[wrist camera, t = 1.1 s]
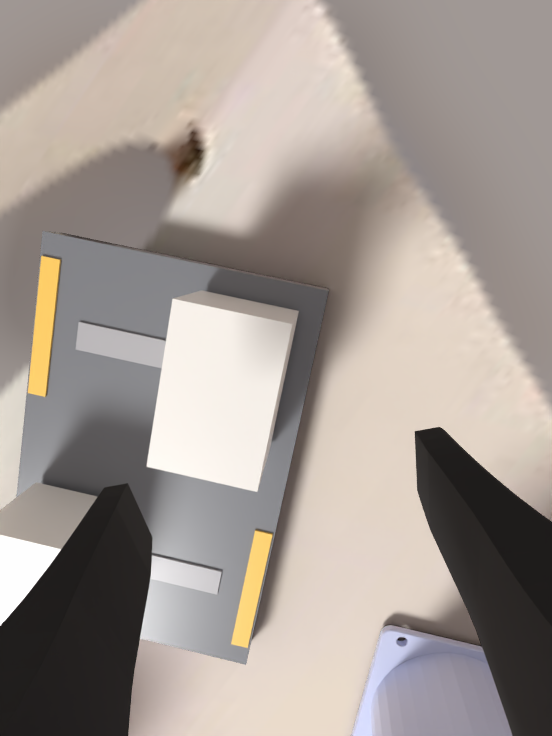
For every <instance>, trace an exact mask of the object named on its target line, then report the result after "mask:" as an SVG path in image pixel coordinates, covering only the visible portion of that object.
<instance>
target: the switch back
mask: <svg viewBox="0 0 552 736" xmlns="http://www.w3.org/2000/svg"><path fill="white" fill-rule="evenodd" d="M96 498H97V496H93V495H89V494H84V493H80V492H76V491H72V490H67V489H63V488H59V487H54V486H50V485H46V484H41V483H37V482H36V483H35V484H33V485H32V486H31V487H29V488H28V489H27V490H26V491H24V492H23V493H22V494H20V495H19V496H18V497H17V498H15V499H14V500H13V501H11V502H10V503H9V504H8V505H6V506H5V507H4V508H2V509H1V510H0V625H1V624H2V623H3V622H4V621H5V620H6V619H7V617H8V616H9V615H10V614H11V613H12V612H13V611H14V609H15V608H16V607H17V606H18V605H19V604H20V602H21V601H22V600H23V599H24V598H25V596H26V595H27V594H28V593H29V591H30V590H31V589H32V587H33V586H34V585H35V584H36V582H37V581H38V580H39V578H40V577H41V576H42V575H43V573H44V572H45V571H46V569H47V568H48V567H49V566H50V564H51V563H52V561H53V560H54V559H55V557H56V556H57V555H58V553H59V552H60V550H61V549H62V548H63V546H64V545H65V543H66V542H67V541H68V539H69V538H70V536H71V535H72V533H73V532H74V531H75V529H76V528H77V526H78V525H79V523H80V522H81V520H82V519H83V517H84V516H85V514H86V513H87V511H88V510H89V509H90V507H91V506H92V504H93V503H94V501H95V500H96Z"/></svg>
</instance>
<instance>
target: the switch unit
mask: <svg viewBox="0 0 552 736" xmlns="http://www.w3.org/2000/svg"><path fill="white" fill-rule="evenodd" d="M198 291H207V292H212V293H216V294H221V295H226V296H231V297H235V298H240V299H245V300H250V301H254V302H259V303H264V304H268V305H273V306H278V307H283V308H287V309H292V310H297V311H299V313H298V318H297V322H296V327H295V332H294V337H293V341H292V346H291V351H290V356H289V360H288V365H287V370H286V375H285V379H284V384H283V389H282V394H281V398H280V403H279V408H278V413H277V417H276V422H275V427H274V432H273V436H272V441H271V446H270V450H269V454H268V457H267V460H266V464H265V467H264V471H263V474H262V478H261V481H260V484H259V488H258V491H257V492H255V491H250V490H246V489H242V488H237V487H233V486H229V485H224V484H220V483H216V482H211V481H207V480H202V479H198V478H194V477H189V476H185V475H181V474H176V473H172V472H168V471H163V470H159V469H154V468H150V467H146V466H147V459H148V453H149V446H150V440H151V434H152V427H153V421H154V414H155V408H156V402H157V395H158V389H159V382H160V376H161V370H162V363H163V357H164V350H165V344H166V338H167V331H168V325H169V318H170V312H171V306H172V299H173V298H177V297H180V296H184V295H187V294H191V293H195V292H198ZM328 293H329V289H328V288H323V287H318V286H314V285H309V284H304V283H299V282H295V281H290V280H285V279H280V278H275V277H271V276H266V275H261V274H256V273H251V272H247V271H242V270H237V269H232V268H228V267H223V266H218V265H213V264H208V263H204V262H199V261H194V260H189V259H184V258H180V257H175V256H170V255H165V254H161V253H156V252H151V251H146V250H141V249H137V248H132V247H127V246H122V245H117V244H112V243H107V242H103V241H98V240H93V239H88V238H84V237H79V236H74V235H69V234H64V233H58V232H47V231H43V233H42V243H41V254H40V264H39V274H38V284H37V294H36V304H35V314H34V325H33V336H32V345H31V355H30V365H29V375H28V386H27V396H26V406H25V416H24V426H23V436H22V447H21V457H20V467H19V477H18V487H17V497H18V496H19V495H20V494H22V493H23V492H24V491H26V490H27V489H28V488H29V487H31V486H32V485H33V484H35V483H36V482H37V483H41V484H46V485H50V486H54V487H59V488H63V489H67V490H72V491H76V492H80V493H84V494H89V495H93V496H97V497H98V496H99V494H100V493H101V491H102V490H103V489H104V487H109V486H115V485H121V484H126V483H128V485H129V487H130V489H131V491H132V493H133V496H134V498H135V500H136V502H137V504H138V506H139V509H140V511H141V513H142V515H143V517H144V520H145V522H146V524H147V526H148V528H149V531H150V533H151V535H152V537H153V539H152V563H151V578H150V584H149V590H148V596H147V601H146V607H145V613H144V618H143V624H142V629H141V635H140V639H143V640H147V641H152V642H156V643H160V644H164V645H168V646H172V647H176V648H180V649H184V650H188V651H192V652H196V653H200V654H204V655H209V656H213V657H217V658H221V659H225V660H229V661H233V662H237V663H241V664H245V665H246V663H247V658H248V654H249V649H250V645H251V640H252V636H253V631H254V627H255V622H256V618H257V613H258V609H259V604H260V600H261V595H262V590H263V586H264V581H265V577H266V572H267V568H268V563H269V559H270V554H271V550H272V545H273V541H274V536H275V532H276V527H277V523H278V518H279V514H280V509H281V505H282V500H283V496H284V491H285V487H286V482H287V478H288V473H289V469H290V464H291V460H292V455H293V451H294V446H295V442H296V437H297V432H298V428H299V423H300V419H301V414H302V410H303V405H304V401H305V396H306V392H307V387H308V383H309V378H310V374H311V369H312V365H313V360H314V356H315V351H316V347H317V342H318V338H319V333H320V329H321V324H322V320H323V315H324V311H325V306H326V302H327V297H328ZM17 497H16V498H17Z"/></svg>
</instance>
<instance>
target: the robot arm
mask: <svg viewBox="0 0 552 736" xmlns="http://www.w3.org/2000/svg"><path fill="white" fill-rule="evenodd" d="M415 447H416V469H417V491H418V494H419V497H420V500H421V503H422V506H423V510H424V513H425V516H426V519H427V521H428V524H429V527H430V530H431V532H432V534H433V537H434V539H435V541H436V543H437V545H438V547H439V550H440V552H441V554H442V556H443V558H444V560H445V563H446V565H447V567H448V569H449V571H450V573H451V575H452V578H453V580H454V582H455V584H456V586H457V588H458V590H459V593H460V595H461V597H462V599H463V601H464V603H465V606H466V608H467V610H468V612H469V614H470V617H471V619H472V622H473V624H474V626H475V629H476V631H477V634H478V637H479V640H480V643H481V645H482V647H481V646H477V645H473V644H469V643H465V642H460V641H456V640H452V639H448V638H444V637H439V636H435V635H431V634H427V633H423V632H418V631H414V630H410V629H406V628H402V627H397V626H393V625H388V626H385V627H384V628H382V630H381V632H380V635H379V639H378V642H377V646H376V649H375V653H374V656H373V660H372V663H371V667H370V670H369V674H368V677H367V681H366V684H365V688H364V691H363V695H362V698H361V702H360V706H359V709H358V713H357V716H356V720H355V723H354V727H353V730H352V734H351V736H552V522H551V521H550V520H549V519H547V518H546V517H544V516H543V515H542V514H540V513H539V512H538V511H536V510H535V509H534V508H532V507H531V506H530V505H528V504H527V503H526V502H524V501H523V500H522V499H520V498H519V497H518V496H517V495H515V494H514V493H513V492H512V491H510V490H509V489H508V488H507V487H506V486H504V485H503V484H502V483H501V482H500V481H498V480H497V479H496V478H495V477H494V476H493V475H491V474H490V473H489V472H488V471H487V470H486V469H485V468H483V467H482V466H481V465H480V464H479V463H478V462H477V461H476V460H475V459H474V458H472V457H471V456H470V455H469V454H468V453H467V452H466V451H465V450H464V449H463V448H462V447H461V446H460V445H459V444H458V443H457V442H456V441H455V440H454V439H453V438H452V437H451V436H450V435H449V434H448V433H447V432H446V431H445V430H443V429H442V428H441V427H437V428H431V429H425V430H420V431H415ZM152 539H153V537H152V535H151V533H150V531H149V528H148V526H147V524H146V522H145V520H144V517H143V515H142V513H141V511H140V509H139V506H138V504H137V502H136V500H135V498H134V496H133V493H132V491H131V489H130V487H129V485H128V483H126V484H121V485H115V486H109V487H104V489H103V490H102V491H101V493H100V494H99V496H98V497H97V498H96V500H95V501H94V503H93V504H92V506H91V507H90V509H89V510H88V511H87V513H86V514H85V516H84V517H83V519H82V520H81V522H80V523H79V525H78V526H77V528H76V529H75V531H74V532H73V533H72V535H71V536H70V538H69V539H68V541H67V542H66V543H65V545H64V546H63V548H62V549H61V550H60V552H59V553H58V555H57V556H56V557H55V559H54V560H53V561H52V563H51V564H50V566H49V567H48V568H47V569H46V571H45V572H44V573H43V575H42V576H41V577H40V578H39V580H38V581H37V582H36V584H35V585H34V586H33V587H32V589H31V590H30V591H29V593H28V594H27V595H26V596H25V598H24V599H23V600H22V601H21V602H20V604H19V605H18V606H17V607H16V608H15V609H14V611H13V612H12V613H11V614H10V615H9V616H8V617H7V619H6V620H5V621H4V622H3V623H2V624H1V625H0V736H128V728H129V716H130V704H131V692H132V683H133V676H134V668H135V663H136V657H137V651H138V646H139V640H140V635H141V629H142V624H143V618H144V613H145V607H146V601H147V596H148V590H149V584H150V578H151V563H152ZM399 637H404V638H406V639H405V640H403V641H399V640H397V639H398V638H399Z"/></svg>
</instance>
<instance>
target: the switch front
mask: <svg viewBox="0 0 552 736" xmlns="http://www.w3.org/2000/svg"><path fill="white" fill-rule="evenodd" d="M298 313H299V311H297V310H292V309H287V308H283V307H278V306H273V305H268V304H264V303H259V302H254V301H250V300H245V299H240V298H235V297H231V296H226V295H221V294H216V293H212V292H207V291H198V292H195V293H191V294H187V295H184V296H180V297H177V298H173V299H172V306H171V312H170V318H169V325H168V331H167V338H166V344H165V350H164V357H163V363H162V370H161V376H160V382H159V389H158V395H157V402H156V408H155V414H154V421H153V427H152V434H151V440H150V446H149V453H148V459H147V466H146V467H150V468H154V469H159V470H163V471H168V472H172V473H176V474H181V475H185V476H189V477H194V478H198V479H202V480H207V481H211V482H216V483H220V484H224V485H229V486H233V487H237V488H242V489H246V490H250V491H255V492H257V491H258V488H259V484H260V481H261V478H262V474H263V471H264V467H265V464H266V460H267V457H268V454H269V450H270V446H271V441H272V436H273V432H274V427H275V422H276V417H277V413H278V408H279V403H280V398H281V394H282V389H283V384H284V379H285V375H286V370H287V365H288V360H289V356H290V351H291V346H292V341H293V337H294V332H295V327H296V322H297V318H298Z"/></svg>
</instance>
